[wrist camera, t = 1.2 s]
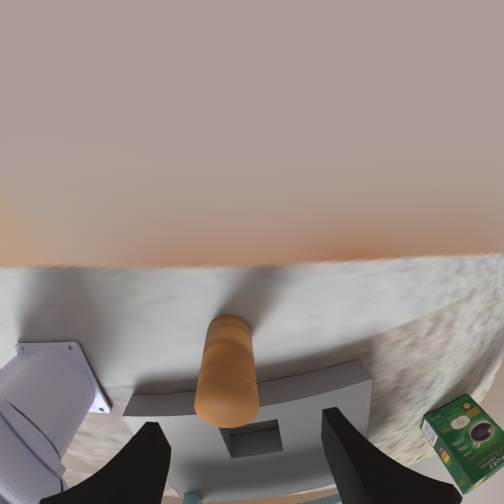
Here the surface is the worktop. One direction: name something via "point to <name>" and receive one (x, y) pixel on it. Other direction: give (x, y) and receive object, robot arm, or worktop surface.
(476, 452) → the coffee box
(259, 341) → the worktop surface
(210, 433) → the socket stand
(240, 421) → the peg
